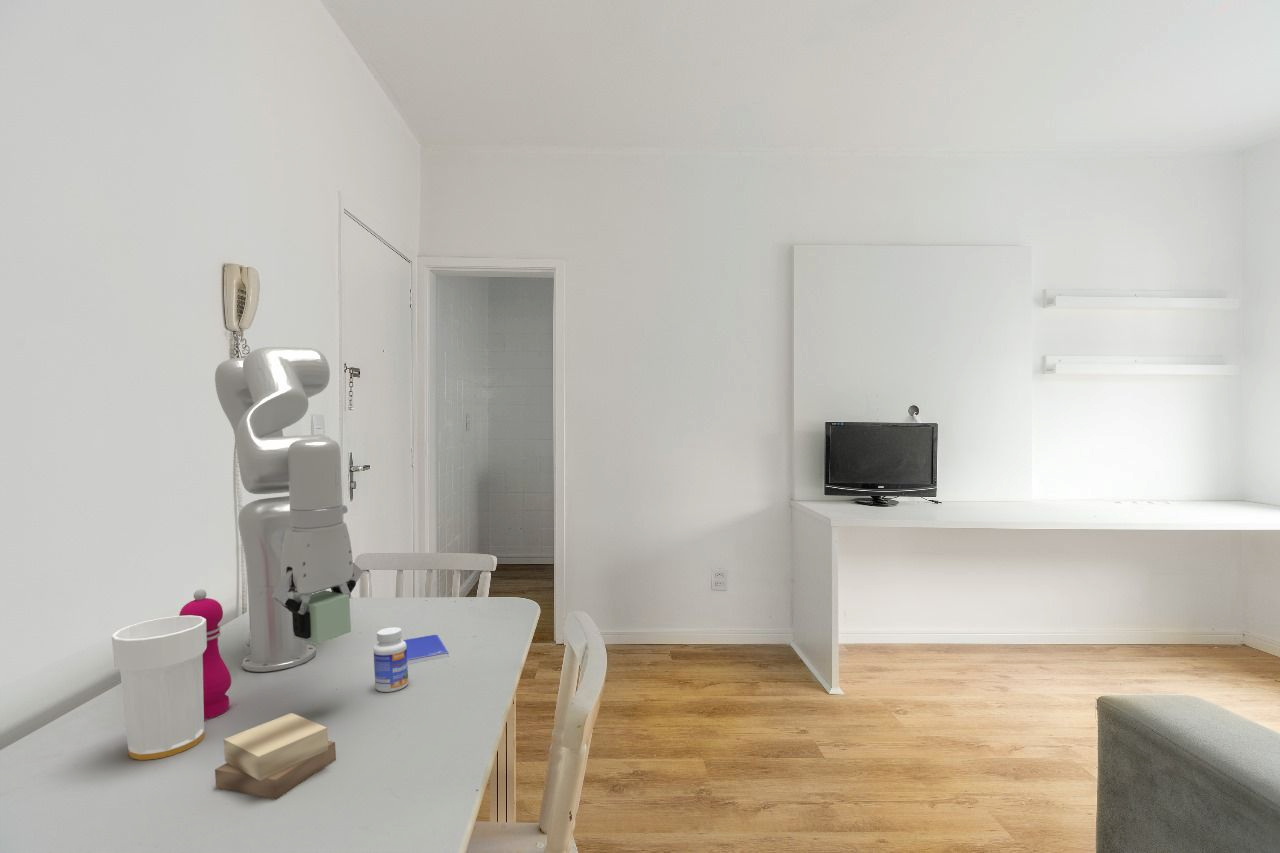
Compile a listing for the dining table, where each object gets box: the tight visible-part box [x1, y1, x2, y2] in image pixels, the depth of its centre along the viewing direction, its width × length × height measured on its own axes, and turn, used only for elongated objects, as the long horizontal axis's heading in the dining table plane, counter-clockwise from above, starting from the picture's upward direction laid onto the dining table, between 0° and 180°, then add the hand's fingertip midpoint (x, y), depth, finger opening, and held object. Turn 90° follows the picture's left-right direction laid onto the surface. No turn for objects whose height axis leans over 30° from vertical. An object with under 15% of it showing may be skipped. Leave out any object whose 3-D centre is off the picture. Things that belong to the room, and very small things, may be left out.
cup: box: [111, 615, 207, 761], centre depth 102 cm, size 11×11×17 cm
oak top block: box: [223, 712, 329, 781], centre depth 93 cm, size 9×9×3 cm
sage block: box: [292, 589, 352, 645], centre depth 111 cm, size 6×6×6 cm
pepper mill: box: [178, 589, 232, 720], centre depth 113 cm, size 7×7×20 cm
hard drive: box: [402, 634, 450, 666], centre depth 138 cm, size 2×8×12 cm
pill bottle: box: [373, 626, 409, 693], centre depth 121 cm, size 5×5×10 cm
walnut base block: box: [214, 740, 337, 800], centre depth 93 cm, size 10×10×3 cm
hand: (321, 629), depth 111 cm, fingers closed on sage block, 6 cm apart
